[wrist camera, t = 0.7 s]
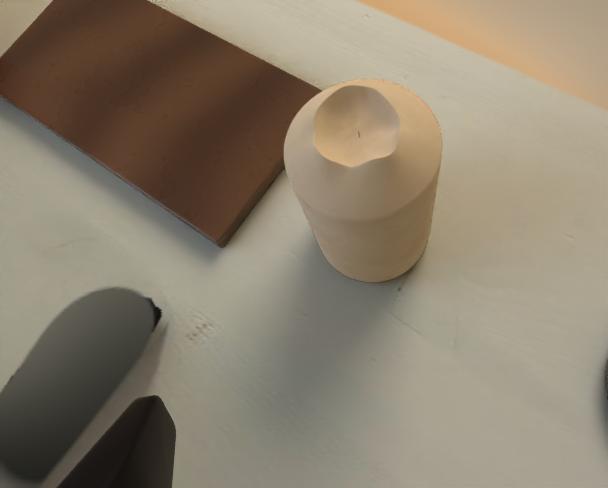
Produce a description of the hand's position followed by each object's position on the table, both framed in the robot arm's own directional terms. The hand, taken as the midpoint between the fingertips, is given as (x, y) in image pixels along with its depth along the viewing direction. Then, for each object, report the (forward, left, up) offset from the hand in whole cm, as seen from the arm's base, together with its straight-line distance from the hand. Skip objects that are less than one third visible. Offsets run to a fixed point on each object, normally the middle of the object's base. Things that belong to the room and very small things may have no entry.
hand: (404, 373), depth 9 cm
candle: (+8, 0, -15) cm, 17 cm away
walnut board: (+20, +11, -15) cm, 27 cm away
